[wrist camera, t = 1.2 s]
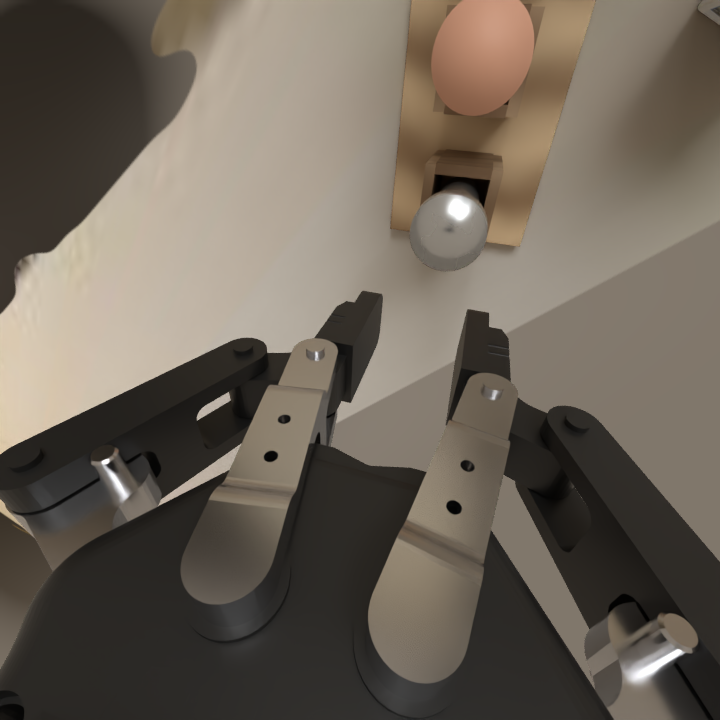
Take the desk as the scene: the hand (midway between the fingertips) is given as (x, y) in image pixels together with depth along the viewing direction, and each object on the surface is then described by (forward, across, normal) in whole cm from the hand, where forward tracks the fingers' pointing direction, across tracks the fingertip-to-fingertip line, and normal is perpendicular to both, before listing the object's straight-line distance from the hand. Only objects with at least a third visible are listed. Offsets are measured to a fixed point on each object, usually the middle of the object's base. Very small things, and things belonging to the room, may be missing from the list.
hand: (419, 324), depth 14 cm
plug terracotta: (+20, 0, -8) cm, 21 cm away
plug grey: (+20, 0, 0) cm, 20 cm away
